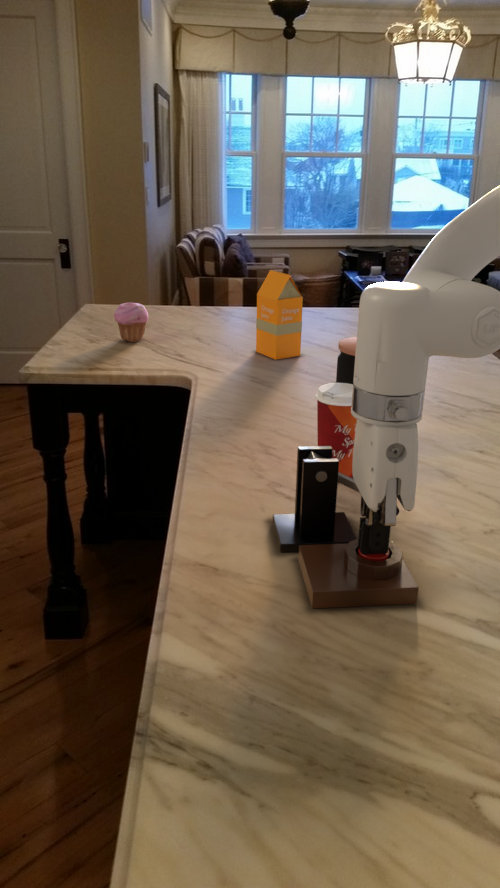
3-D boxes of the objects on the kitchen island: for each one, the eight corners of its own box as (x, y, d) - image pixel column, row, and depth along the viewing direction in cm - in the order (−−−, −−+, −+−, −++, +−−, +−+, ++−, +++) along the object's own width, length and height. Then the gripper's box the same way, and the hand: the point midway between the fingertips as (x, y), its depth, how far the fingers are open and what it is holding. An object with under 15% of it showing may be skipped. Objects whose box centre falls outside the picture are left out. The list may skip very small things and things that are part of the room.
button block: (392, 556, 89) (395, 529, 87) (416, 603, 80) (420, 573, 78) (298, 560, 88) (299, 532, 86) (312, 608, 78) (313, 578, 77)
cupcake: (109, 339, 187) (107, 301, 184) (136, 334, 193) (135, 297, 189) (128, 346, 181) (126, 307, 178) (155, 340, 187) (154, 303, 183)
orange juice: (280, 347, 182) (282, 268, 174) (300, 355, 175) (304, 274, 168) (255, 351, 178) (256, 271, 170) (275, 359, 171) (277, 276, 164)
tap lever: (381, 500, 96) (390, 486, 95) (393, 521, 90) (403, 506, 90) (299, 460, 92) (308, 445, 92) (307, 480, 87) (317, 464, 86)
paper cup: (341, 488, 106) (347, 400, 101) (301, 473, 111) (305, 389, 106) (370, 472, 112) (377, 388, 106) (331, 459, 117) (336, 378, 111)
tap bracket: (343, 519, 98) (349, 440, 93) (357, 549, 90) (364, 465, 86) (272, 521, 97) (274, 442, 92) (280, 552, 89) (283, 467, 85)
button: (383, 554, 85) (384, 541, 84) (391, 570, 81) (393, 557, 81) (354, 555, 84) (355, 542, 84) (361, 572, 81) (362, 559, 80)
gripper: (445, 426, 69) (424, 585, 76) (401, 380, 82) (386, 518, 89) (370, 427, 68) (355, 588, 75) (338, 381, 82) (328, 520, 89)
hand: (372, 550), depth 82 cm, fingers closed
